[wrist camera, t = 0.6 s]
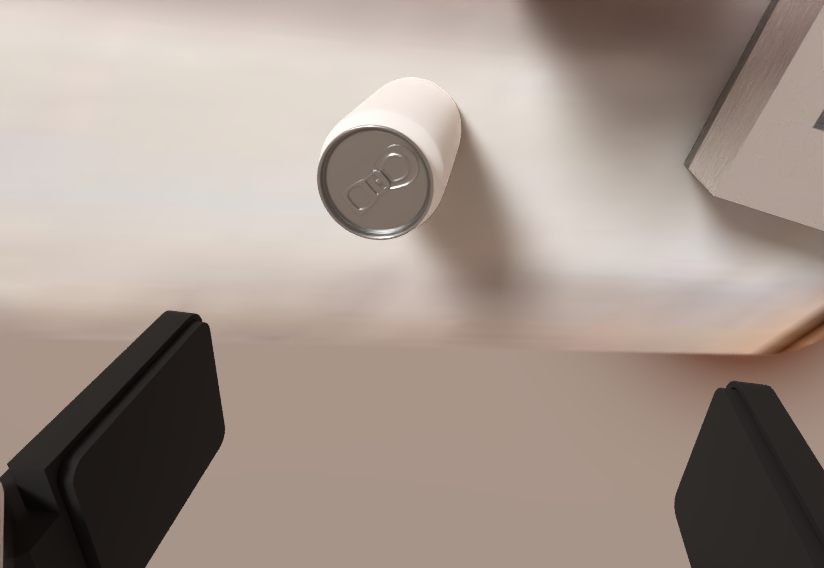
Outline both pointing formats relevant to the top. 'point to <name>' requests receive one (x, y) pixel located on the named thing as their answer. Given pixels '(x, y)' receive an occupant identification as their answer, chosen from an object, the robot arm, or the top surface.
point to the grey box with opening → (771, 120)
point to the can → (390, 159)
